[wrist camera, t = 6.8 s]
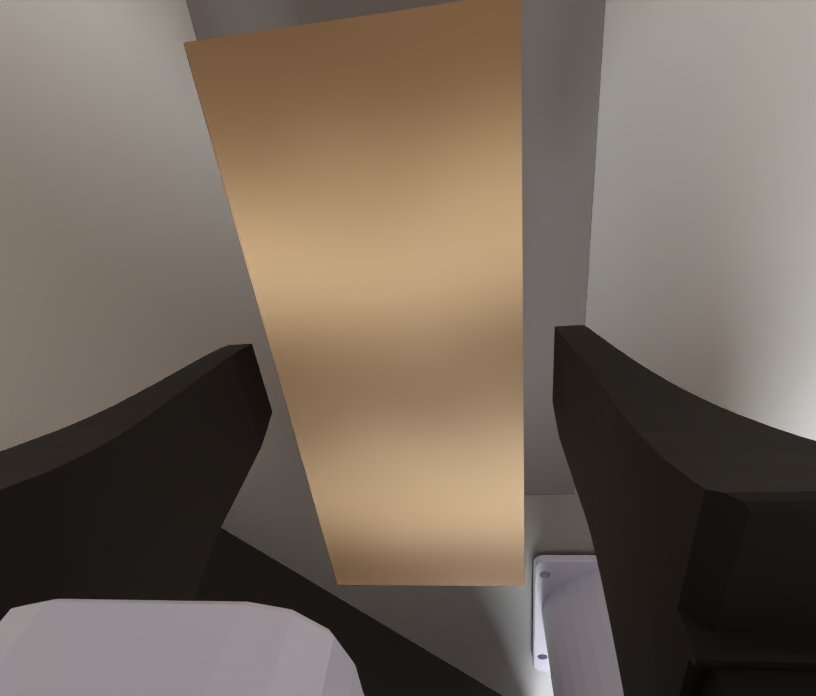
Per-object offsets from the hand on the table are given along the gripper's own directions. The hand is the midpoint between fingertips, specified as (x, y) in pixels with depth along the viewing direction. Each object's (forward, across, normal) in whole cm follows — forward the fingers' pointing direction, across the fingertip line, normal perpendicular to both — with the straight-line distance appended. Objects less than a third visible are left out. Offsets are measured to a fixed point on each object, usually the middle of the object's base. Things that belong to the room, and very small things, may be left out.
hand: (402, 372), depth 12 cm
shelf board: (+3, 0, 0) cm, 3 cm away
